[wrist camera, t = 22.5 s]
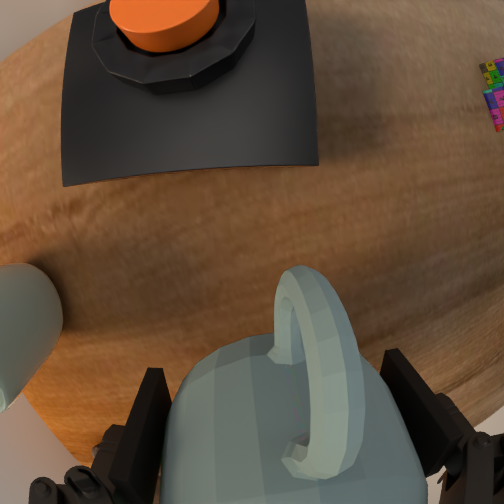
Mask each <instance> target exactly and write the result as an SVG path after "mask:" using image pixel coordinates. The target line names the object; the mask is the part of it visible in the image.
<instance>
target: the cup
mask: <svg viewBox="0 0 504 504" xmlns="http://www.w3.org/2000/svg"><path fill="white" fill-rule="evenodd" d="M62 327H63V310H62V305H61V301H60V298H59V295H58V292H57V290H56V288H55V286H54V284H53V283H52V281H51V280H50V278H49V277H48V276H47V275H46V274H45V273H44V272H43V271H42V270H40V269H39V268H38V267H35V266H33V265H31V264H27V263H20V262H17V263H7V264H3V265H0V413H2V412H4V411H6V410H7V409H8V408H9V407H10V406H11V405H12V404H13V403H14V402H15V400H16V399H17V398H18V397H19V395H20V394H21V393H22V392H23V390H24V389H25V388H26V386H27V385H28V384H29V383H30V381H31V380H32V379H33V378H34V376H35V375H36V374H37V372H38V371H39V370H40V368H41V367H42V366H43V364H44V363H45V362H46V360H47V359H48V357H49V355H50V354H51V352H52V351H53V349H54V347H55V346H56V344H57V342H58V340H59V338H60V335H61V331H62Z"/></svg>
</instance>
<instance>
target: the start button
mask: <svg viewBox="0 0 504 504" xmlns="http://www.w3.org/2000/svg"><path fill="white" fill-rule="evenodd" d="M109 9H110V16H111V18H112V20H113V22H114V23H115V24H116V25H117V26H118V27H119V29H120V30H121V31H122V32H123V33H124V34H125V35H126V36H127V37H128V39H129V40H130V41H131V42H132V43H133V44H134V45H135V46H137V47H139V48H141V49H143V50H146V51H150V52H169V51H174V50H178V49H181V48H184V47H187V46H189V45H191V44H193V43H195V42H196V41H198V40H199V39H201V38H202V37H203V36H204V35H205V34H206V33H207V32H208V31H209V30H210V29H211V28H212V27H213V25H214V24H215V22H216V20H217V17H218V14H219V2H218V0H111V1H110V8H109Z"/></svg>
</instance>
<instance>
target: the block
mask: <svg viewBox="0 0 504 504" xmlns="http://www.w3.org/2000/svg"><path fill="white" fill-rule="evenodd" d="M479 66H480V68H481V70H482V72H483V75H484V77H485V79H486V82H487V84H488V86H489V89H488V90H485V91H482V92H483V94H484V97H485V99H486V102H487V104H488V107H489V110H490V113H491V116H492V119H493V122H494V125H495V128H496V131H497V132H500V131H502V130H504V58H501V59H497V60H493V61H490V62H486V63H483V64H480V65H479Z"/></svg>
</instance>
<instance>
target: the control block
mask: <svg viewBox="0 0 504 504" xmlns="http://www.w3.org/2000/svg"><path fill="white" fill-rule="evenodd" d="M110 1H111V0H106V1H105V2H103V3H100V4H97V5H94V6H91V7H88V8H85V9H82V10H80V11H77V12H75V13H74V14H73V19H72V24H71V29H70V34H69V40H68V46H67V53H66V61H65V69H64V79H63V90H62V107H61V164H62V181H63V187H68V186H74V185H81V184H89V183H97V182H105V181H112V180H119V179H127V178H134V177H143V176H151V175H161V174H171V173H182V172H194V171H207V170H223V169H242V168H272V167H306V166H318V165H319V157H318V132H317V113H316V98H315V84H314V72H313V61H312V51H311V42H310V33H309V25H308V17H307V9H306V2H305V0H218V2H219V14H218V17H217V20H216V22H215V24H214V25H213V27H212V28H211V29H210V30H209V31H208V32H207V33H206V34H205V35H204V36H203V37H202V38H201V39H199V40H198V41H196V42H195V43H193V44H191V45H189V46H187V47H184V48H181V49H178V50H174V51H169V52H150V51H146V50H143V49H141V48H139V47H137V46H135V45H134V44H133V43H132V42H131V41H130V40H129V39H128V37H127V36H126V35H125V34H124V33H123V32H122V31H121V30H120V29H119V27H118V26H117V25H116V24H115V23H114V22H113V20H112V18H111V16H110V9H109V8H110Z"/></svg>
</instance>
